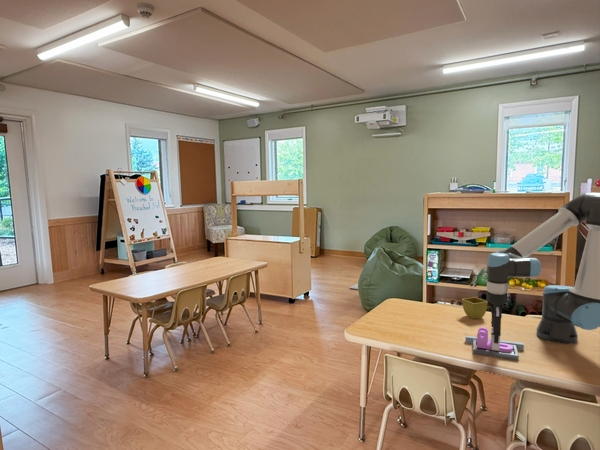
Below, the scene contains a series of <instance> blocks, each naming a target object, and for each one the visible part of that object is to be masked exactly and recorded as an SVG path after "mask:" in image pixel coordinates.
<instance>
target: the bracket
mask: <svg viewBox="0 0 600 450" xmlns="http://www.w3.org/2000/svg"><path fill="white" fill-rule="evenodd" d="M476 337H477V347H478V348H484V349H490V350H492V341H489V340H488V339H489V330H488V328H487V327H483V326H481V327H479V328H478V330H477V333H476ZM500 351H501V352H513V346H512V345H509V344H506V343H500Z"/></svg>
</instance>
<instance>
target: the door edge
mask: <svg viewBox="0 0 600 450" xmlns="http://www.w3.org/2000/svg"><path fill="white" fill-rule="evenodd" d="M473 340H477V336H472V335H465V343H467V344H473ZM488 340H489V341H491V338H488ZM500 343H506V344H510V345H516V348H517V351H524V349H525V343H524V342H519V341H509V340H501V339H500Z"/></svg>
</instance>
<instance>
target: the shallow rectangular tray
mask: <svg viewBox="0 0 600 450" xmlns="http://www.w3.org/2000/svg"><path fill="white" fill-rule="evenodd" d="M509 345H510V344H509ZM512 346H513V352H501V351H496V350H490V349H484V348H478V347H477V340H473V343H472V350H473V353H472V354H473V355H478V356H484V357H485V356H486V357H490V358H499V359H505V360H510V361H511V360H512V361H517V362H518V361H519V359H520V358H519V357H520V355H519V352H518V351H519V350H517V348H516V345H512Z"/></svg>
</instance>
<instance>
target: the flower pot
mask: <svg viewBox="0 0 600 450" xmlns="http://www.w3.org/2000/svg"><path fill="white" fill-rule="evenodd" d="M461 302H462V309H463V311H464V313H465V315H466V316H467V317H468V318H471V319H474V320H477V319H482V318H483V317H484V315H486V312H487V308H488V302H489V301H487V300H484V299H481V298H479V297H477V296H473V297H467V298H466V297H465V298H462V299H461Z"/></svg>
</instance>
